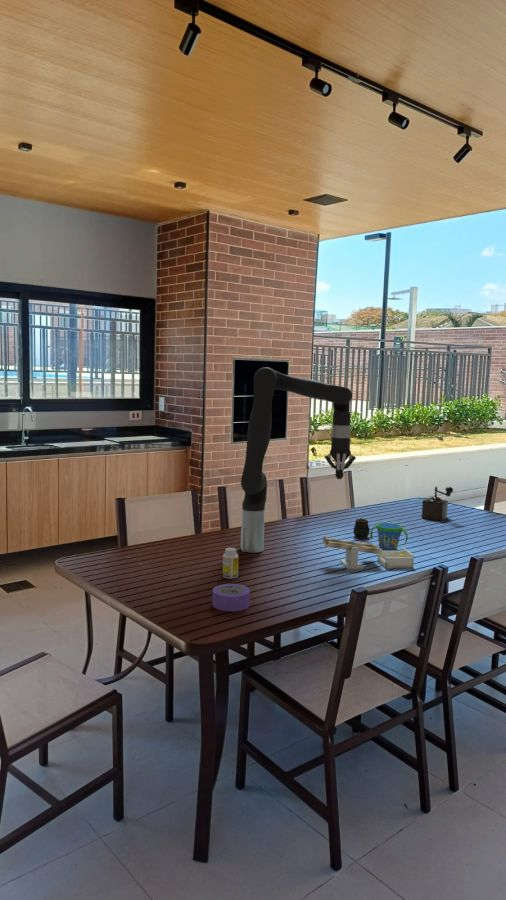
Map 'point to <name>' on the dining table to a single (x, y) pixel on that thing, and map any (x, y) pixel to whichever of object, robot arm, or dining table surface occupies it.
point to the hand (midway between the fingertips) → (339, 478)
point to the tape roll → (231, 597)
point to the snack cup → (389, 535)
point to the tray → (396, 559)
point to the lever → (352, 545)
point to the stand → (351, 559)
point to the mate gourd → (361, 528)
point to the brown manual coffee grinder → (436, 506)
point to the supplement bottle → (230, 563)
